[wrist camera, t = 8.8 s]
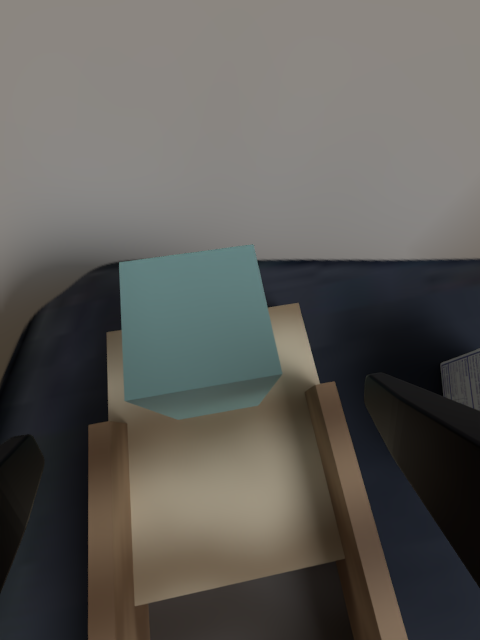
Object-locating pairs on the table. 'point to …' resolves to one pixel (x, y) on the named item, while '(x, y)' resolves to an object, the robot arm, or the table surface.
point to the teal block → (196, 333)
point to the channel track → (235, 516)
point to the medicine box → (462, 379)
